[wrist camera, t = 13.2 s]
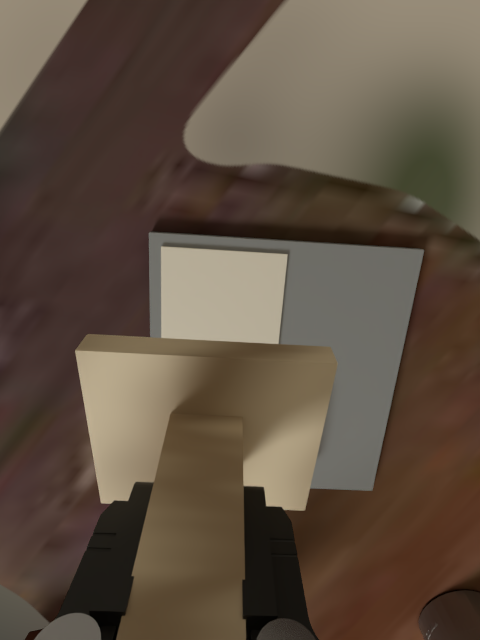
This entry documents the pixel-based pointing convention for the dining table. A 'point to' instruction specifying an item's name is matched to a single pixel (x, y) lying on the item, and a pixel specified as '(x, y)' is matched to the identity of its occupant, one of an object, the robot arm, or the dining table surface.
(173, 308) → the plate
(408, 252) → the mat
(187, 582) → the square plate with post
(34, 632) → the muffin
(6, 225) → the dining table surface
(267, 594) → the robot arm
